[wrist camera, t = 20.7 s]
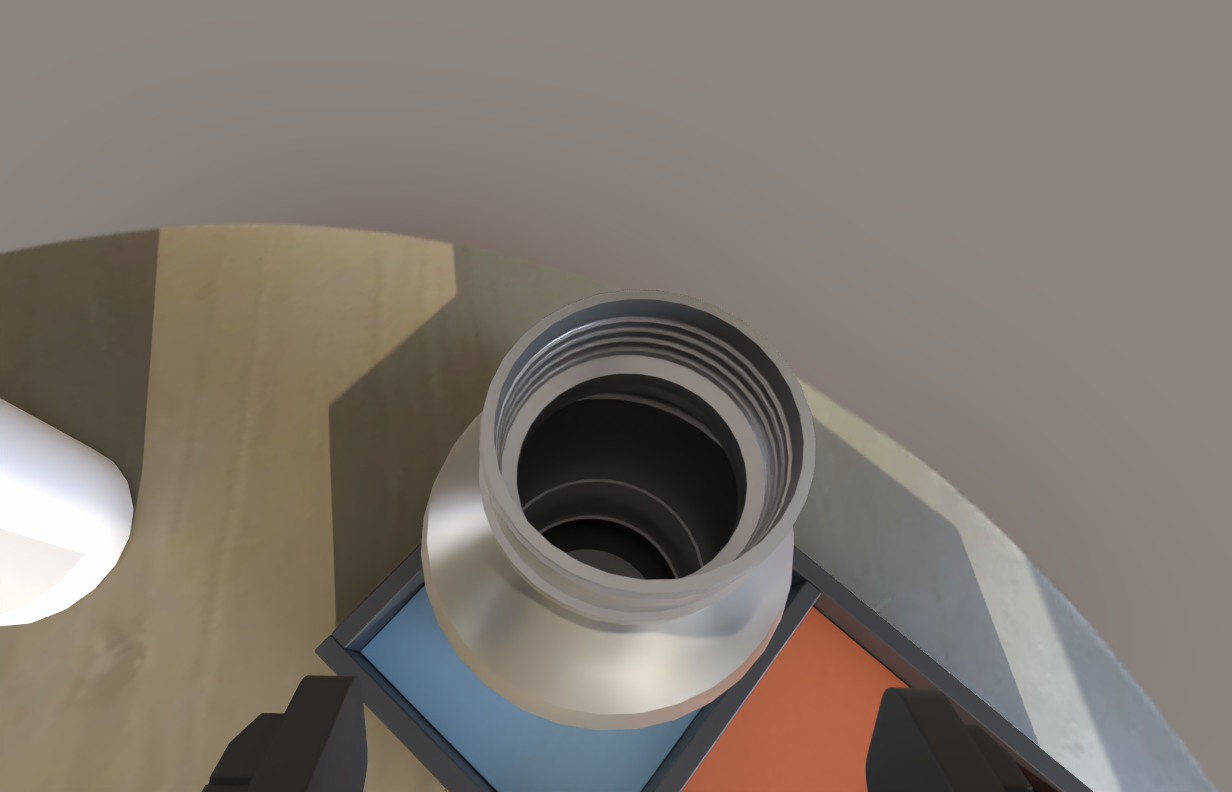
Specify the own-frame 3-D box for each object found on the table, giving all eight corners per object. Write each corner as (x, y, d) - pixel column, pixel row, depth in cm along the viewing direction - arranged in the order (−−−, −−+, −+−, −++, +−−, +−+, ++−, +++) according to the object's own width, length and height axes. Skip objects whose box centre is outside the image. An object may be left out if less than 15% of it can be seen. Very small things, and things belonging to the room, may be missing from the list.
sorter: (1060, 796, 26) (1111, 806, 23) (861, 1198, 21) (901, 1261, 19) (585, 401, 30) (588, 375, 28) (336, 655, 26) (313, 650, 23)
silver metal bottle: (673, 724, 25) (1000, 786, 7) (479, 710, 25) (256, 733, 6) (679, 541, 27) (925, 218, 9) (504, 526, 27) (395, 162, 9)
